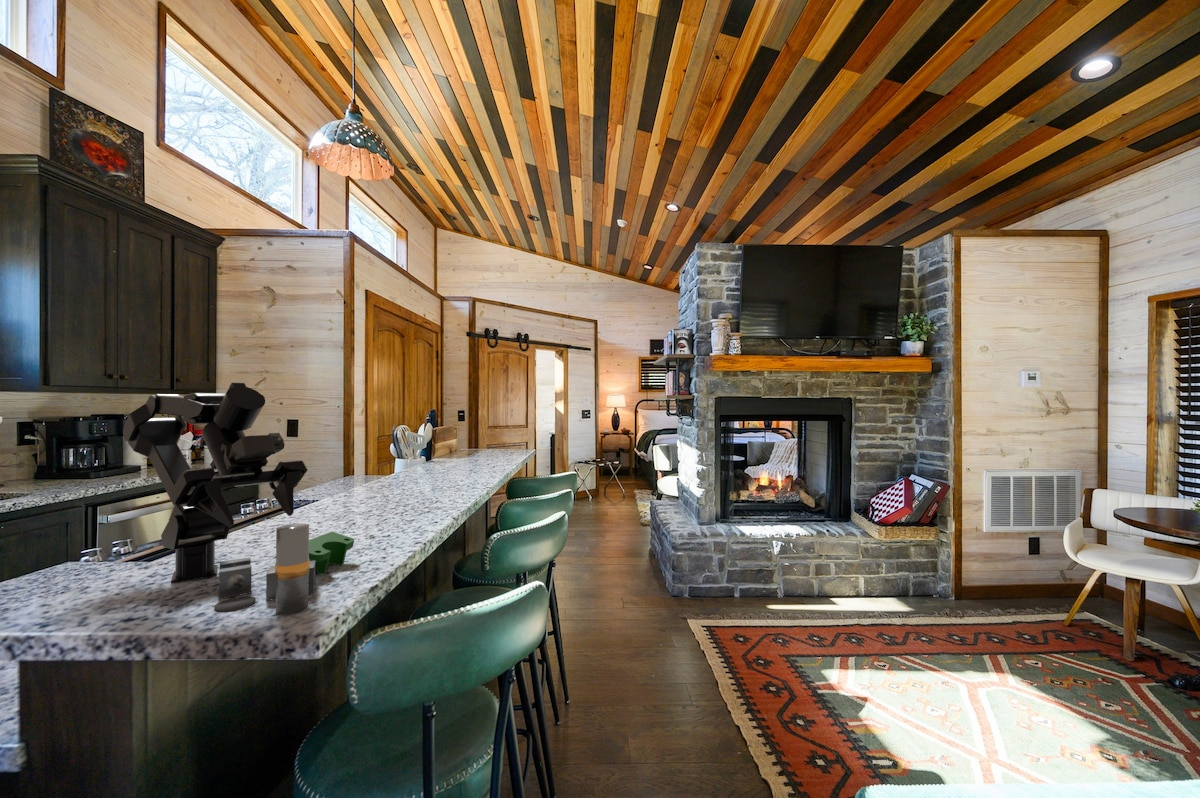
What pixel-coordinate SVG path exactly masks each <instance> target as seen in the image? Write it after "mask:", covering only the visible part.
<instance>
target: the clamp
mask: <svg viewBox="0 0 1200 798" xmlns="http://www.w3.org/2000/svg"><path fill="white" fill-rule="evenodd" d="M354 543H355V539H354V538H352V537H350V536H348V535H343V534H341V533H338V532H334V531H330V532H327V533H324V534H321V535H319V536H317V537H314V538H312V539H309V559H310V561H314V560H316V573H318V574H320V575H325V573H326V574H327V571H328V566H329V565H330V564H333V565H337V564H339V565H338V566H341V565H342V564H343V565H344V564H345V560H346V555H347V551H348V550H350V549H352V548H353V547H354ZM343 565H342V566H343Z"/></svg>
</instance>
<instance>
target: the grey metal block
mask: <svg viewBox="0 0 1200 798" xmlns="http://www.w3.org/2000/svg"><path fill="white" fill-rule="evenodd" d="M251 559H252V558H251V557H250V556H249V557H243V558H238V559H236V558H235V559H230V560H224V561H219V570H218V599H219V600H220V599H221V598H222V599H226V598H227V599H228V598H233V597H237V596H241V595H240V594H243V595H245V594H244V593H248V594H250V593H249V592H251V593H252V564H251V562H252V561H251ZM236 595H237V596H236Z"/></svg>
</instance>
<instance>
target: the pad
mask: <svg viewBox="0 0 1200 798" xmlns="http://www.w3.org/2000/svg"><path fill="white" fill-rule="evenodd" d="M255 601H256V602H257V599H256V597H255V596H251V595H244V596H243V595H240V596H234V597H229V598H227V599H224V600H221V601H219V602H217V603H216V604H215V605H214V606H213V608H214V611H216V612H222V613H223V612H232V611H237V610H238V609H239V610H242V609H245V608H247V606H248V607H250V606H252V605H254V604H255V603H256V602H255ZM254 602H255V603H254ZM253 603H254V604H253ZM251 604H252V605H251ZM249 605H250V606H249ZM244 607H245V608H244ZM239 610H238V611H239Z"/></svg>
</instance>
